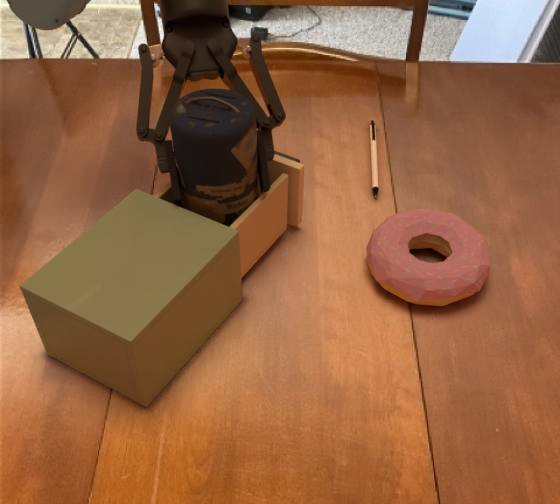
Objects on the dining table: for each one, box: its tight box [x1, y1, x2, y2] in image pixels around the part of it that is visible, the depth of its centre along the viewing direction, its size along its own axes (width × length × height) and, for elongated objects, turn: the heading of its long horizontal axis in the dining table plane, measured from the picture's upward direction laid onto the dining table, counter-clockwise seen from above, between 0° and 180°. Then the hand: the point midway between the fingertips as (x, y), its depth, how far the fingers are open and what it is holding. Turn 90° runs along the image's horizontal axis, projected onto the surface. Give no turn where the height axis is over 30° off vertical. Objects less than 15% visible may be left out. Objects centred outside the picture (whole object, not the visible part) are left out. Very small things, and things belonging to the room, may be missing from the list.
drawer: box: [153, 150, 305, 279], centre depth 86 cm, size 22×13×9 cm, turn 149°
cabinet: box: [19, 188, 243, 408], centre depth 76 cm, size 19×14×11 cm
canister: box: [169, 88, 258, 227], centre depth 79 cm, size 10×10×18 cm
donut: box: [365, 208, 491, 307], centre depth 84 cm, size 16×15×5 cm
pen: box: [369, 119, 380, 198], centre depth 101 cm, size 1×19×1 cm, turn 177°
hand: (222, 195), depth 78 cm, fingers closed on canister, 9 cm apart
